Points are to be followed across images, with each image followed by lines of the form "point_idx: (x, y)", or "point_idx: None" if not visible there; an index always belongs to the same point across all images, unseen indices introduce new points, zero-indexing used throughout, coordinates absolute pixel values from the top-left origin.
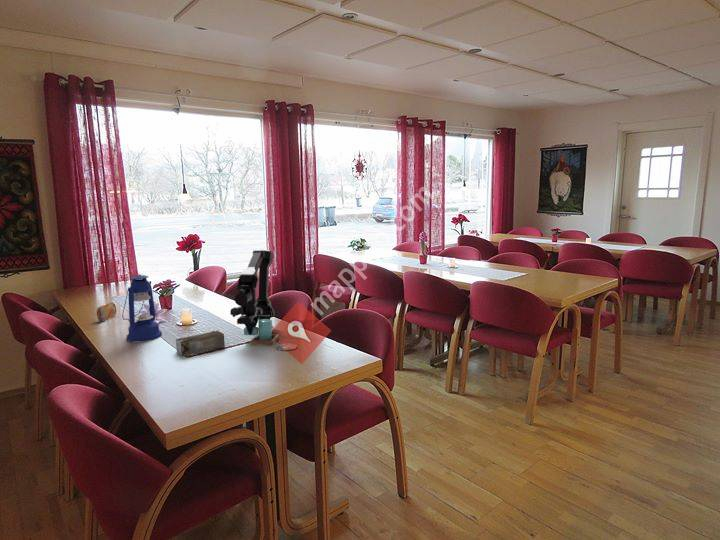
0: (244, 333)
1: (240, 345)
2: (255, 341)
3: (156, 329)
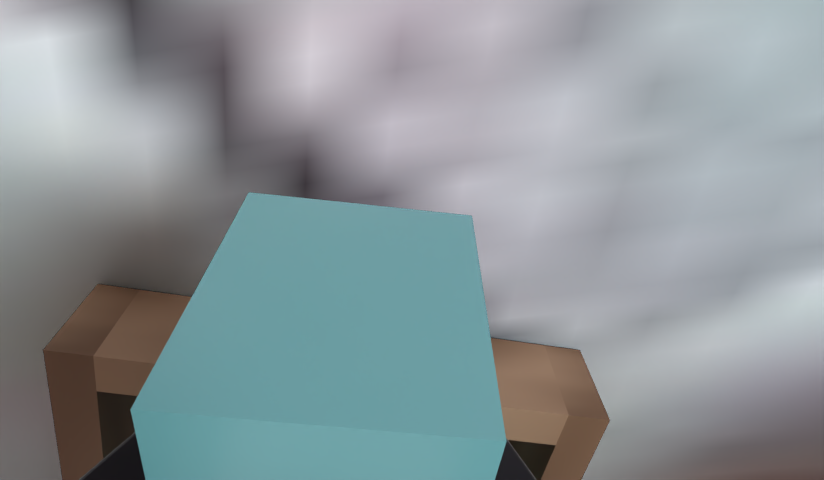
0: (237, 238)
1: (34, 36)
2: (64, 427)
3: None
